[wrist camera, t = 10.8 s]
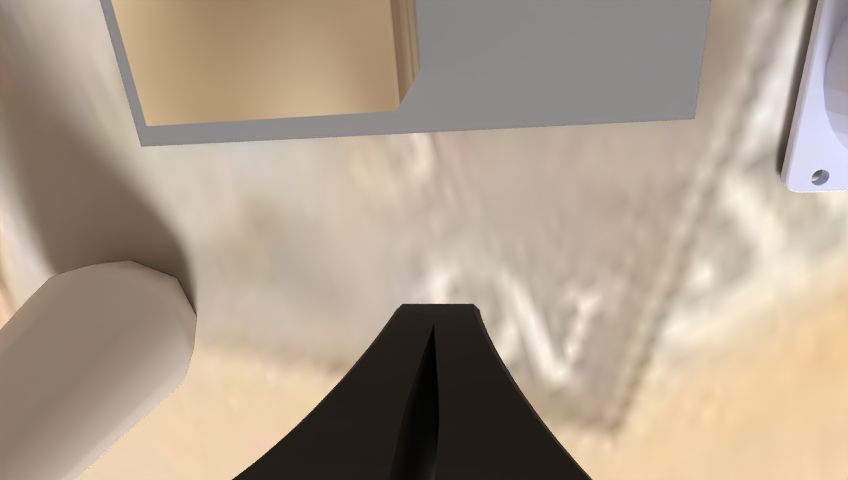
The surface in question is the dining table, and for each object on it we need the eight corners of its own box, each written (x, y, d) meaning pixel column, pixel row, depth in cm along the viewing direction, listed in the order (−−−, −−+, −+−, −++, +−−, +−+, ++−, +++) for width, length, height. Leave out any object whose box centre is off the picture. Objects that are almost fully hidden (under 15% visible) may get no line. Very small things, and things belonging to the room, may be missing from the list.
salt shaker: (41, 277, 21) (-483, 630, 10) (151, 215, 20) (-304, 540, 8) (138, 385, 23) (-196, 789, 11) (245, 336, 22) (-12, 740, 10)
